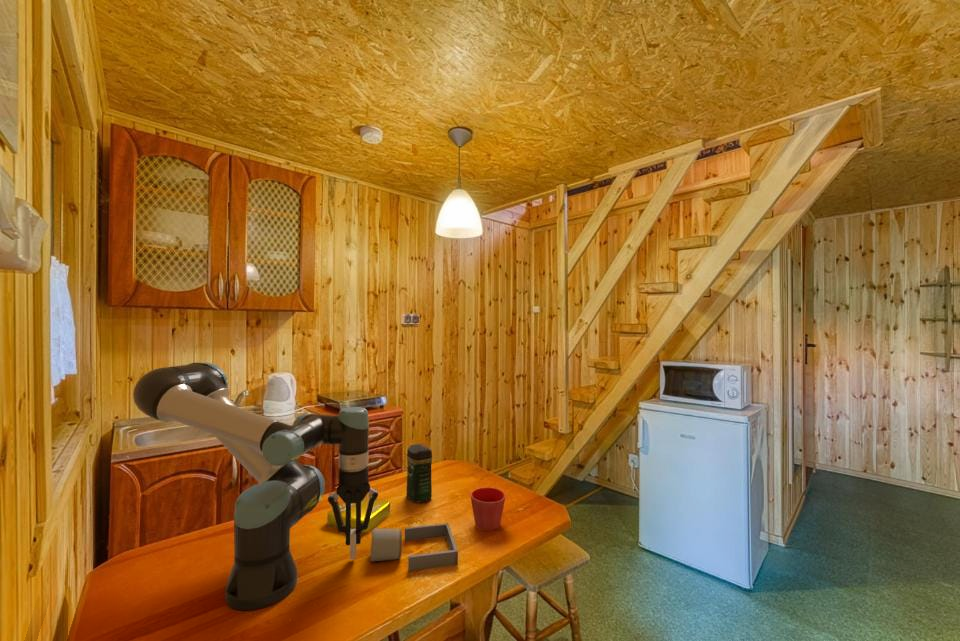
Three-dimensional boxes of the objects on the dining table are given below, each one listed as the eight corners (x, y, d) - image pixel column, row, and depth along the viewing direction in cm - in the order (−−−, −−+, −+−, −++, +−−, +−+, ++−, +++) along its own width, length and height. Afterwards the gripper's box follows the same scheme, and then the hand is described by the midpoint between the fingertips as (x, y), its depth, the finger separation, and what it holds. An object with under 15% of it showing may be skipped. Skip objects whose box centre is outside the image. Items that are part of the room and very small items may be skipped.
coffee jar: (435, 500, 146) (435, 448, 145) (414, 505, 141) (414, 451, 141) (423, 490, 154) (424, 440, 154) (403, 495, 149) (404, 444, 149)
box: (408, 571, 105) (408, 557, 105) (404, 539, 120) (404, 527, 120) (457, 564, 108) (457, 551, 108) (448, 534, 123) (448, 523, 123)
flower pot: (486, 538, 121) (487, 505, 121) (463, 523, 129) (463, 493, 129) (512, 526, 128) (512, 495, 128) (488, 513, 136) (488, 484, 136)
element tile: (365, 536, 122) (365, 520, 122) (324, 527, 127) (324, 511, 127) (392, 513, 136) (392, 499, 136) (354, 506, 141) (354, 492, 141)
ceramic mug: (402, 564, 108) (402, 534, 108) (370, 567, 106) (370, 537, 106) (401, 543, 118) (401, 516, 118) (372, 546, 117) (372, 518, 117)
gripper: (325, 474, 103) (325, 567, 104) (379, 470, 107) (378, 560, 107) (329, 464, 111) (328, 551, 111) (379, 460, 114) (378, 545, 114)
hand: (353, 555), depth 109 cm, fingers closed
